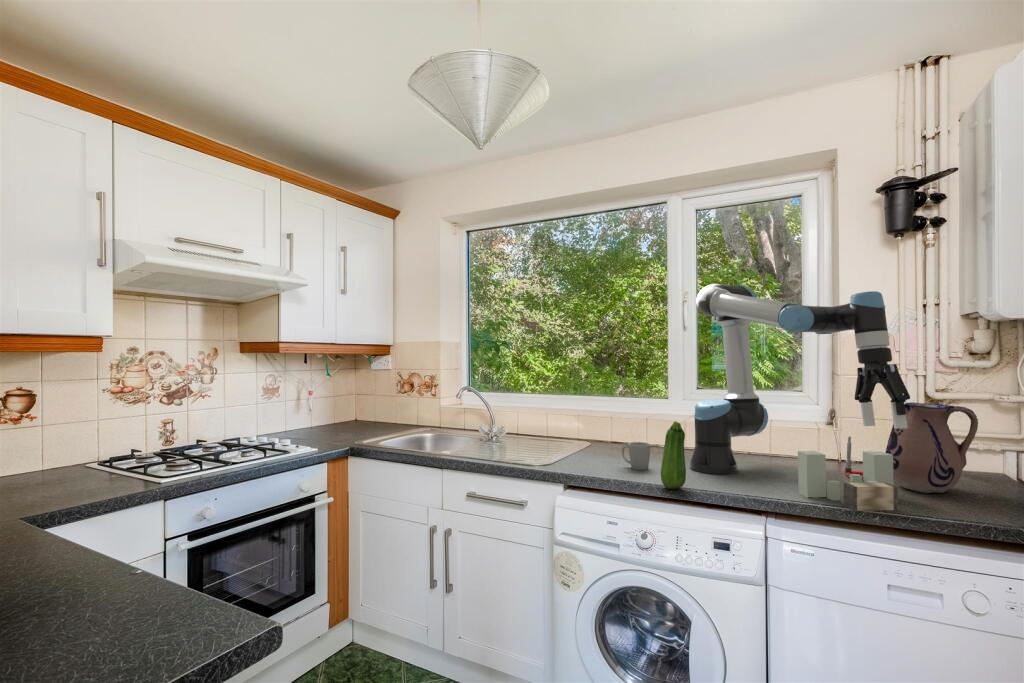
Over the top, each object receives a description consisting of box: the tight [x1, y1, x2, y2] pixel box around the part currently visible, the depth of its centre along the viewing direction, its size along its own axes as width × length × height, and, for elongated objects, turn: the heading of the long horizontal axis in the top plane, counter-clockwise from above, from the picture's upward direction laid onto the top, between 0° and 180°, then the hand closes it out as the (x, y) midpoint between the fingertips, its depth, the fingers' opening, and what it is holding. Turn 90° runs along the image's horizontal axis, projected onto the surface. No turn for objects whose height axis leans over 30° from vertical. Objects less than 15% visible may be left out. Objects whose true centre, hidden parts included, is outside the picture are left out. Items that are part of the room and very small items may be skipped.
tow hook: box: [843, 435, 863, 480], centre depth 164 cm, size 8×13×9 cm
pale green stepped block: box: [797, 450, 841, 501], centre depth 143 cm, size 8×9×12 cm
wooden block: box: [843, 482, 899, 512], centre depth 132 cm, size 11×4×6 cm, turn 87°
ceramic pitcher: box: [885, 401, 979, 494], centre depth 148 cm, size 18×21×25 cm
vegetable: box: [660, 420, 687, 490], centre depth 152 cm, size 7×7×20 cm
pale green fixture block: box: [849, 450, 895, 486], centre depth 143 cm, size 8×9×12 cm
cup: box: [621, 441, 652, 471], centre depth 178 cm, size 8×10×8 cm
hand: (884, 427), depth 136 cm, fingers open, 13 cm apart
